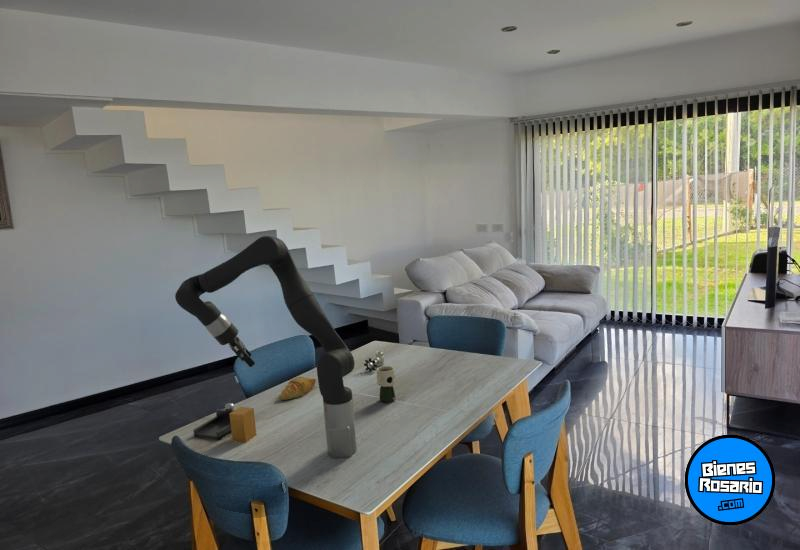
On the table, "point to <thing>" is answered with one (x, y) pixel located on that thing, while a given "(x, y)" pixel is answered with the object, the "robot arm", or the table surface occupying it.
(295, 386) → the croissant
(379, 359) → the valve
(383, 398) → the character mug
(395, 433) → the table surface
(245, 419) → the block
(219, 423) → the tray
